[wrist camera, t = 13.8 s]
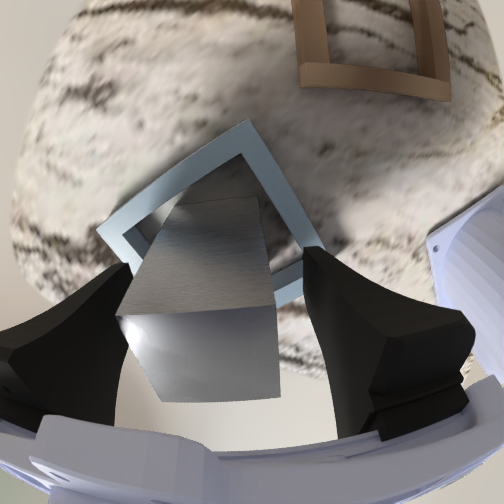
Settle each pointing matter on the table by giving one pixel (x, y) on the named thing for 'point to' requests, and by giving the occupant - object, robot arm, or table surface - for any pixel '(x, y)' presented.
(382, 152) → the table surface
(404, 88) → the walnut socket
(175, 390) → the grey metal block
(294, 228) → the light blue square frame
